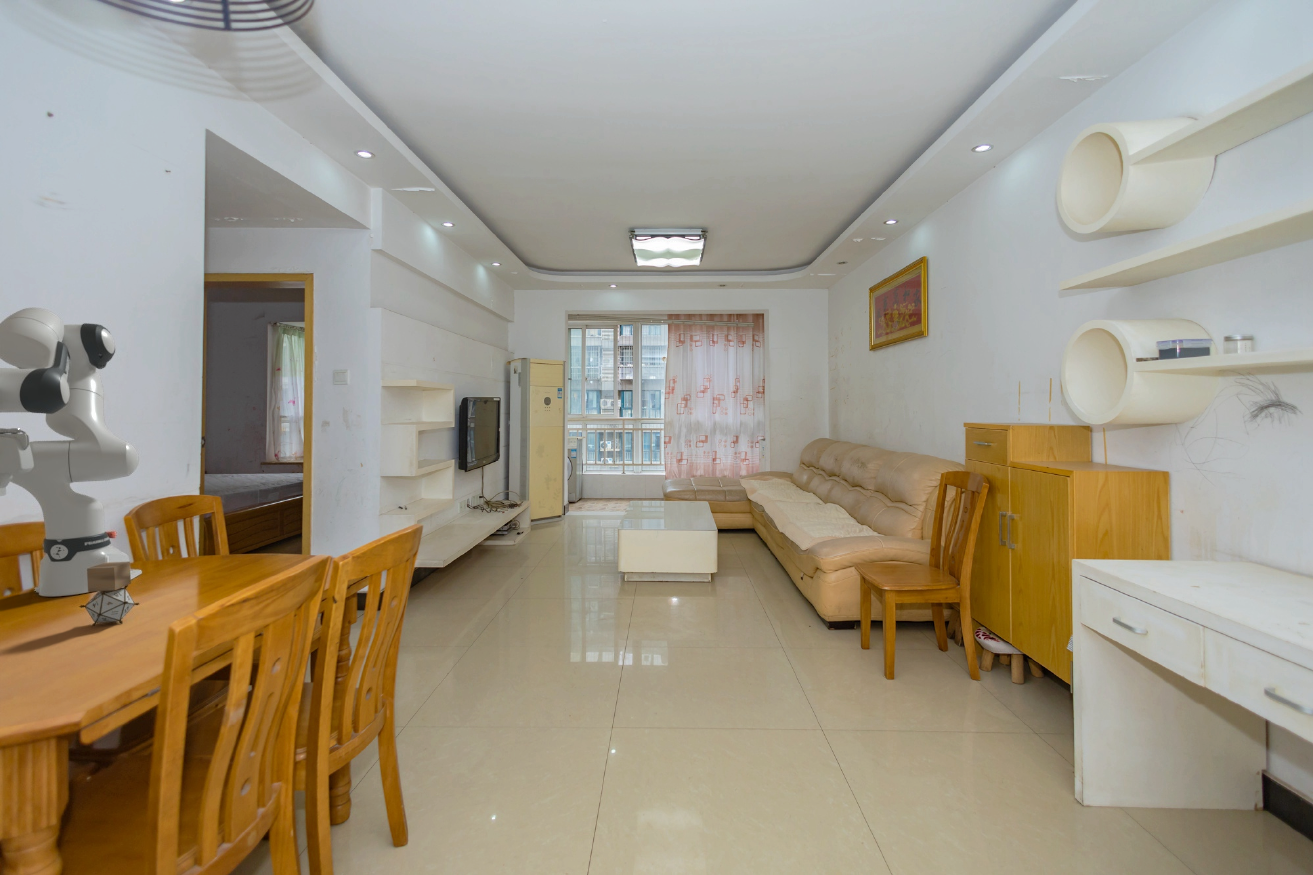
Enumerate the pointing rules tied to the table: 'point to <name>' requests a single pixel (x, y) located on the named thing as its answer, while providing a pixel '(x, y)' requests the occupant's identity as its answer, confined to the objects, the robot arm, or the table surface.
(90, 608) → the game die
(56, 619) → the table surface
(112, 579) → the walnut cube
